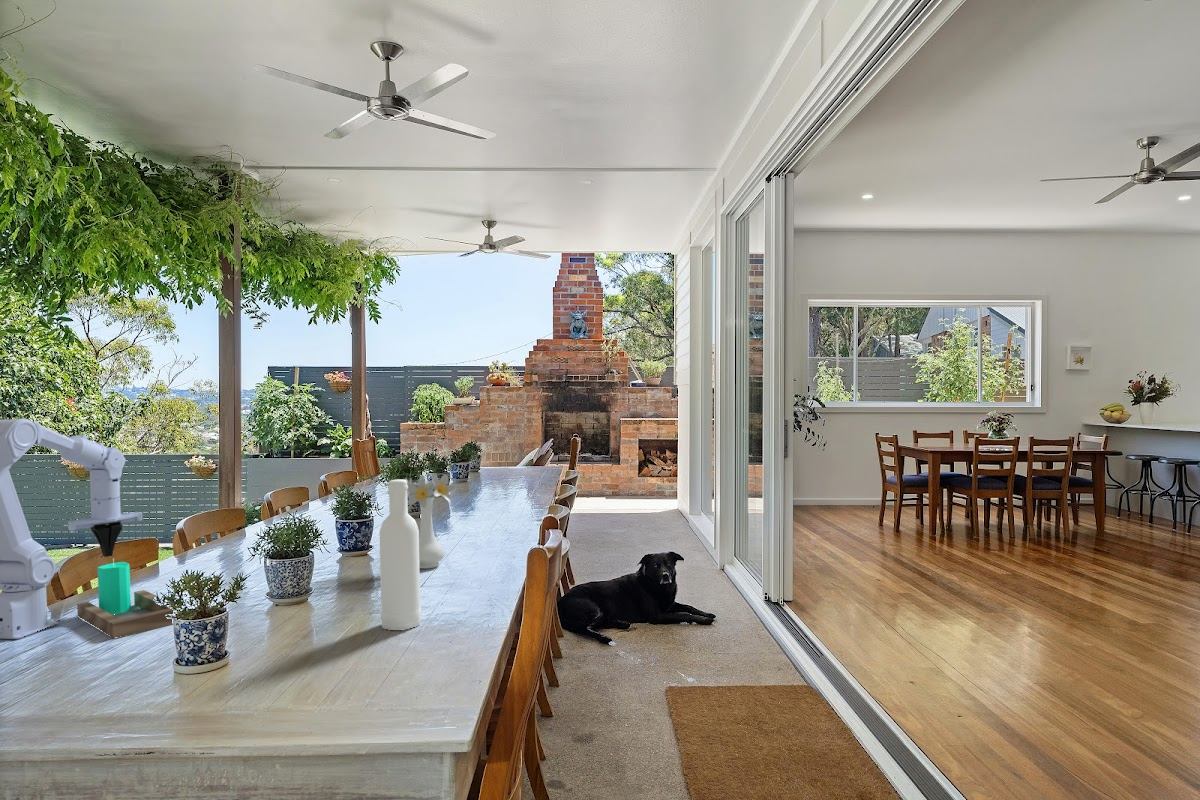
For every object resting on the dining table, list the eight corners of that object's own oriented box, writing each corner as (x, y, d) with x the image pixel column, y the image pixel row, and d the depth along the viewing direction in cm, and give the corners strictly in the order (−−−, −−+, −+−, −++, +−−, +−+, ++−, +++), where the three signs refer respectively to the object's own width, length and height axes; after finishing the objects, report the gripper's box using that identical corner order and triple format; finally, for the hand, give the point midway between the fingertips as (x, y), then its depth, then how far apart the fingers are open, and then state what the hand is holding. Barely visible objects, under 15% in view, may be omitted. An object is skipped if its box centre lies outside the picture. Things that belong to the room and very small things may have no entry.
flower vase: (397, 560, 205) (395, 472, 205) (463, 560, 205) (461, 471, 204) (383, 573, 192) (381, 478, 192) (453, 572, 192) (451, 477, 191)
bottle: (410, 632, 146) (406, 483, 146) (374, 630, 148) (370, 482, 147) (427, 619, 154) (424, 477, 153) (393, 617, 156) (389, 477, 155)
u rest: (77, 617, 159) (77, 604, 159) (144, 602, 169) (143, 590, 169) (113, 639, 145) (113, 624, 145) (183, 621, 155) (183, 607, 155)
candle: (105, 617, 159) (103, 563, 158) (94, 612, 162) (92, 559, 162) (135, 610, 163) (133, 557, 163) (124, 606, 167) (123, 553, 167)
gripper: (74, 504, 163) (76, 564, 164) (146, 495, 175) (148, 552, 175) (64, 501, 168) (66, 560, 168) (135, 493, 179) (137, 548, 179)
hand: (107, 555), depth 172 cm, fingers closed
